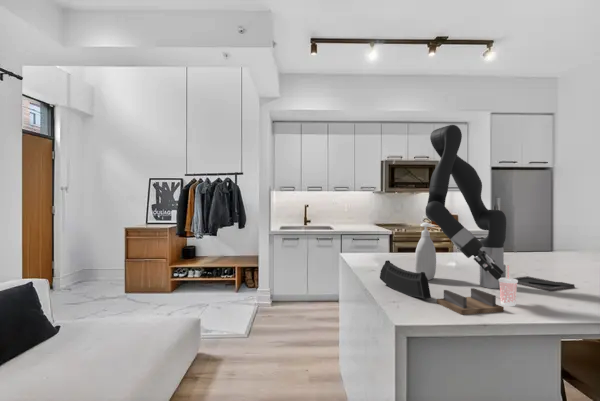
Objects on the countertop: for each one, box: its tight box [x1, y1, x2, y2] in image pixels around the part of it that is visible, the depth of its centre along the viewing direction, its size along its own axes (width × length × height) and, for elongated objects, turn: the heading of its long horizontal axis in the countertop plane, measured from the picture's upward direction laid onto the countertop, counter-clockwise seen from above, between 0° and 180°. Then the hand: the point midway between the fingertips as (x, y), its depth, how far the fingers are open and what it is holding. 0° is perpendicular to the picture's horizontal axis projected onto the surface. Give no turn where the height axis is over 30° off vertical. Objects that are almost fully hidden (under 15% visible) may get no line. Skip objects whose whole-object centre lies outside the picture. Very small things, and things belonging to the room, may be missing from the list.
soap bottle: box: [414, 221, 437, 281], centre depth 173 cm, size 14×8×27 cm, turn 127°
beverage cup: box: [499, 265, 518, 307], centre depth 132 cm, size 6×6×14 cm
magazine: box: [379, 260, 432, 300], centre depth 149 cm, size 17×3×30 cm
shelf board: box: [436, 287, 504, 316], centre depth 129 cm, size 16×14×5 cm
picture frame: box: [512, 275, 576, 292], centre depth 163 cm, size 16×2×21 cm
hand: (500, 276), depth 133 cm, fingers open, 8 cm apart
